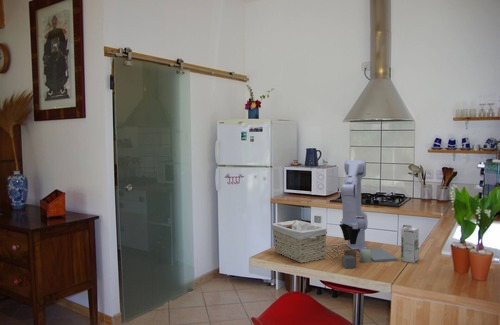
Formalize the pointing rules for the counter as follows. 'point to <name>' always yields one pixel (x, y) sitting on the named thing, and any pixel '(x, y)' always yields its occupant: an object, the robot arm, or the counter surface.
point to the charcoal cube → (349, 262)
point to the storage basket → (300, 240)
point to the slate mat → (381, 255)
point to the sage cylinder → (365, 255)
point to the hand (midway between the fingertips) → (349, 242)
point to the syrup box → (409, 244)
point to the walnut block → (349, 253)
